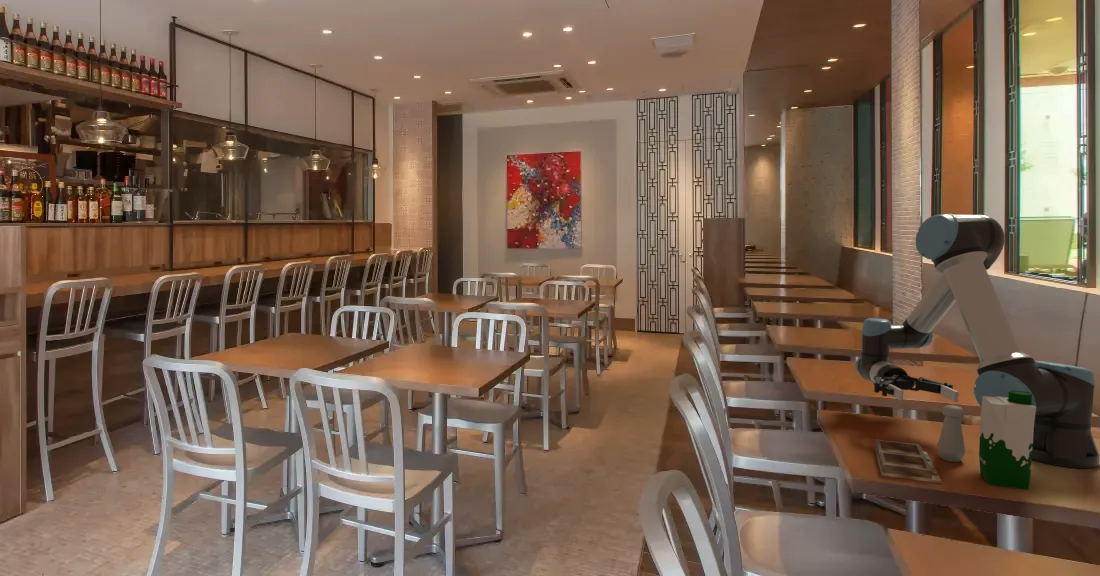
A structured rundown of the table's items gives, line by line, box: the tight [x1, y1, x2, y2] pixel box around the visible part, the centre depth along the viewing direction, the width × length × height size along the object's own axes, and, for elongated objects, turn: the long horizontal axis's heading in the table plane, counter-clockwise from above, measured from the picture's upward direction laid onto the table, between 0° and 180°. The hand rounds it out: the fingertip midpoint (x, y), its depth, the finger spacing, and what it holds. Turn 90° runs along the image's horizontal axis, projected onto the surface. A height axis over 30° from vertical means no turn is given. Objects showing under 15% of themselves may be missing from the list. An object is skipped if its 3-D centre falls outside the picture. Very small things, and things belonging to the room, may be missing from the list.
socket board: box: [874, 439, 942, 484], centre depth 144 cm, size 11×20×2 cm, turn 156°
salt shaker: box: [936, 404, 966, 463], centre depth 147 cm, size 6×6×13 cm
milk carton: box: [978, 390, 1036, 490], centre depth 133 cm, size 9×9×20 cm
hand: (929, 396), depth 157 cm, fingers open, 13 cm apart
